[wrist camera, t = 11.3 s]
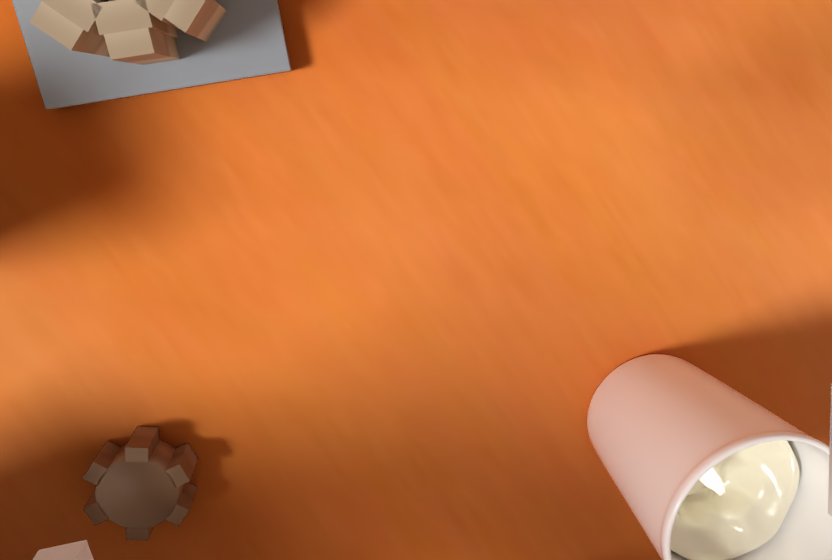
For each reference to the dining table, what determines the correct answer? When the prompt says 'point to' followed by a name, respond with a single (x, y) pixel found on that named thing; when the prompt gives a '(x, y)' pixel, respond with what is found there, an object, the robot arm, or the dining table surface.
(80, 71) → the gear board
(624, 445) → the candle holder
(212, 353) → the dining table surface
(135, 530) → the gear
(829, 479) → the robot arm
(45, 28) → the maple gear
